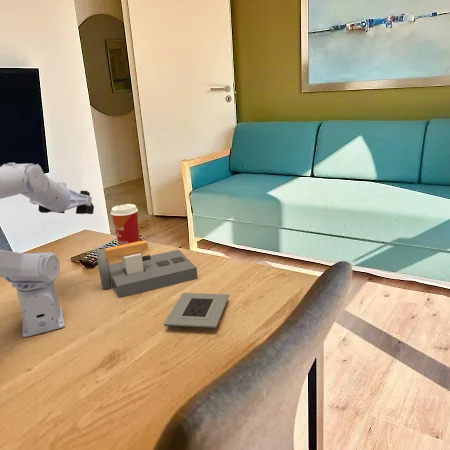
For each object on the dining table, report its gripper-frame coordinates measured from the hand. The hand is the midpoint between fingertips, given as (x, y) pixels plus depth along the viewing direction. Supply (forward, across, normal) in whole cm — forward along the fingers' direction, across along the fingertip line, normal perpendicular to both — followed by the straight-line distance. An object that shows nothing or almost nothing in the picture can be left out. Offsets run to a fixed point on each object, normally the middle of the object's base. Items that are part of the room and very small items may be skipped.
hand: (77, 209), depth 109 cm
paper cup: (+23, -6, +7) cm, 25 cm away
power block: (+9, -18, +15) cm, 25 cm away
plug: (+8, -15, +16) cm, 23 cm away
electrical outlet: (-6, -35, +24) cm, 43 cm away
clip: (+6, -13, +17) cm, 22 cm away
